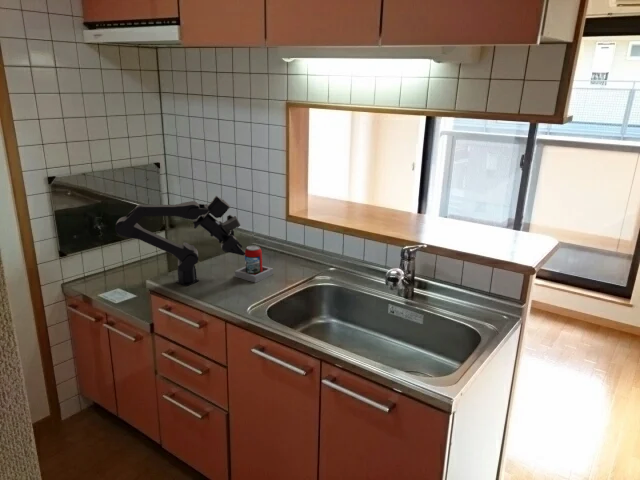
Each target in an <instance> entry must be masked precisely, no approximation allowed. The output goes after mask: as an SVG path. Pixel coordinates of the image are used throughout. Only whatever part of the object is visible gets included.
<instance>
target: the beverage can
mask: <svg viewBox="0 0 640 480" xmlns="http://www.w3.org/2000/svg"><path fill="white" fill-rule="evenodd" d="M244 253H245V255H244V262H245V266H244V267H246V273H249V274H253V275H256V274H259V273H261V272H263V270H262V266H263V251H262V249H261V247H260V246H259V245H255V244H254V245H252V244H251V245H248V246H246V248H245V251H244Z"/></svg>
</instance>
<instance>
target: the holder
mask: <svg viewBox="0 0 640 480" xmlns="http://www.w3.org/2000/svg"><path fill="white" fill-rule="evenodd" d="M262 270H263V272H261V273H259V274H256V275H253V274H249V273H246V267H245V266H243V267H241V268H239V269H236V270H235V271H234V277H235V278H238V279H242V280H245V281H249V282H252V283H255V284H256V283H258V282H260V281H262V280H265V279H266V278H269V277H271V276H272V275H274V268H272V267H268V266H265V265H262Z"/></svg>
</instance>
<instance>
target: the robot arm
mask: <svg viewBox="0 0 640 480" xmlns="http://www.w3.org/2000/svg"><path fill="white" fill-rule="evenodd" d="M230 208H231V206H230V204H229V203H228V202H227V201H226V200H224V199H222V198H221V197H219V196H218V195H215V196H214V198H213V199H212V200H211V202H210V203H208V204H207V203H206V204H205V203H198V202H197V201H193V200H190V201H184V202H182V203H177V204H144V203H143V204H142V203H139V204H137V205H136V207H134V209H133V210H131V211H130V212H129V213H127V215H126V216H122V217H120V218H119V219H118V220H117V221H116V223H115V227H114V230H115V233H116V234H117V235H118V236H120V237H123V238H126V239H134V240H135V239H136V240H139V241H140V242H141V241H142V242H144V243H146V244H148V245H150V246H152V247H155V248H157V249H159V250H162V251H164V252H166V253H168V254H171V255H173V256H174V257H175V258H176V259H177V280H176V281H175V283H177V284H179V285H182V286H185V287H188V286H190V285H192V284H195V283H197V282H199V281H200V280H199V279H198V277H197V269H196V264H197V263H198V261H199V251H198V249H197V248H196V247H195V245H193V244H190V243H188V242H186V241H184V242H183V244H181V243H177V242H174V241H172V240H169V239H167V238H166V237H163V236H161V235H159V234H157V233H154V232H152V231H150V230H147V229H146V228H143V227H142V226H141V225H140V224H139V223H138V222H139V221H140V220H141V219H142V218H143V217H179V218H182V219H185V220H186V219H187V220H192V223H193V228H194V229H198V226H200V228H202V229H203V230H205V231H206V232H207V233H208V234H209V236H210V237H213V238H214V239H216V240H217V241H218V243H219V244H220V247H221V250H222V251H223V252H224V253H231V254H235V255H239V256H242V257H243V256H244V257H245V251H244V250H243V249H242V247H243V245H242V244H241V243H240V241H239V239H238V238H237V237H236V236H235V230H234V229H236V228H239V227H240V226H241V223H240V221H239V220H238V218H237V216H235V215H234V216H233V215H232V214H229V215H227V216H226V220H225V221H223V222H222V220H220V221H219V220H217V219H219V218H220V219H221V218H222V217H223V216H224V215H225V214H226V213H227V212H228V210H230Z"/></svg>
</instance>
